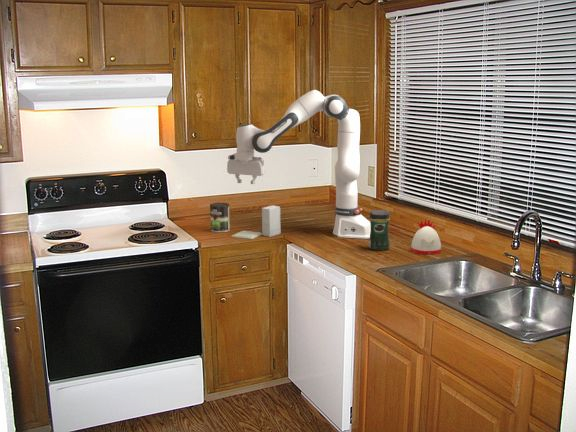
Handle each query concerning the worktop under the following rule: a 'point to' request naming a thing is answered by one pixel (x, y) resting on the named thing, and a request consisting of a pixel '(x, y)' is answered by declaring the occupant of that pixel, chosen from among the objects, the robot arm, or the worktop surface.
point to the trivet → (247, 234)
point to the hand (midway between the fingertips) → (246, 183)
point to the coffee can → (219, 217)
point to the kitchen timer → (426, 240)
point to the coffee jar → (379, 230)
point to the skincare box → (271, 221)
